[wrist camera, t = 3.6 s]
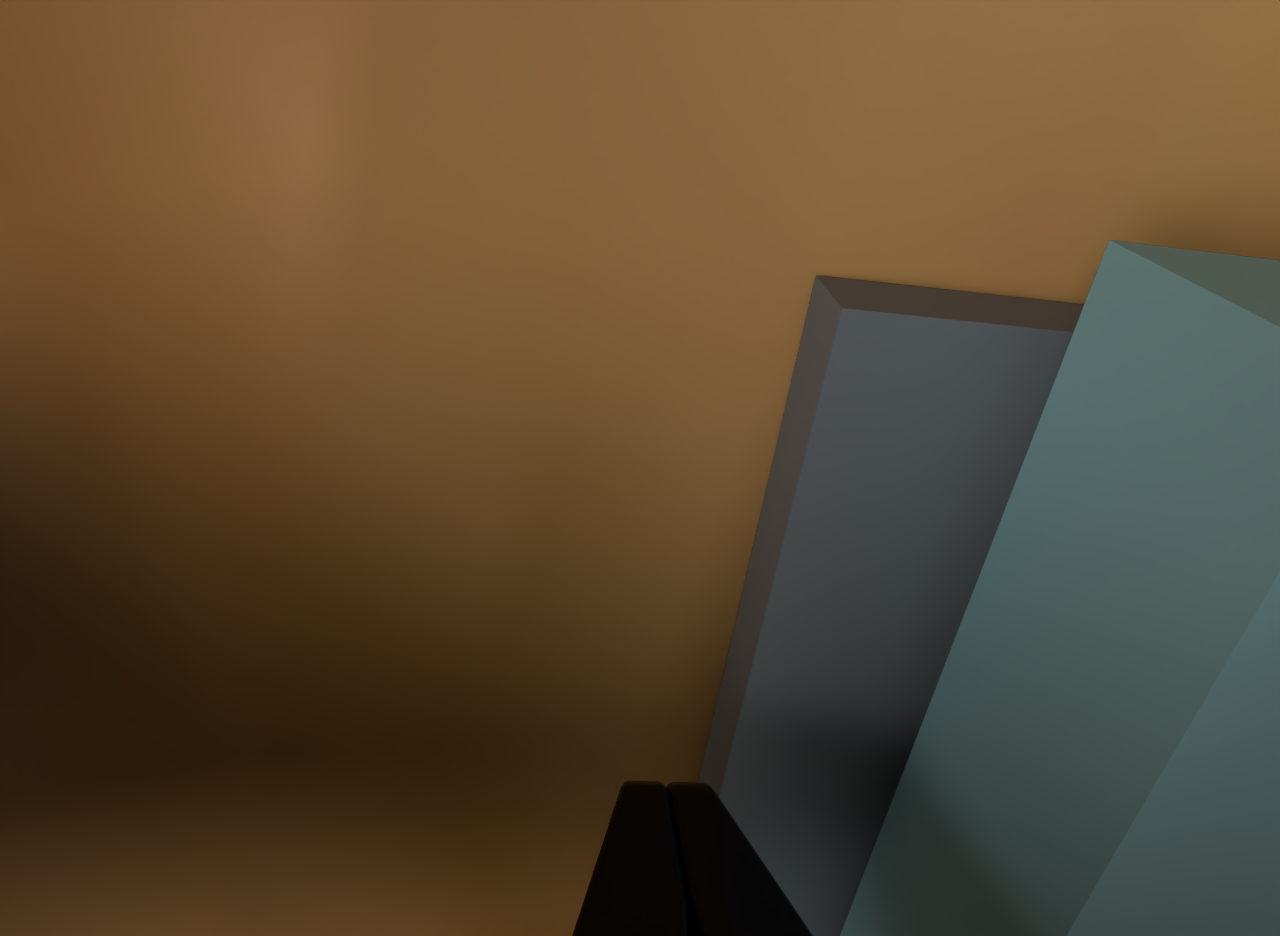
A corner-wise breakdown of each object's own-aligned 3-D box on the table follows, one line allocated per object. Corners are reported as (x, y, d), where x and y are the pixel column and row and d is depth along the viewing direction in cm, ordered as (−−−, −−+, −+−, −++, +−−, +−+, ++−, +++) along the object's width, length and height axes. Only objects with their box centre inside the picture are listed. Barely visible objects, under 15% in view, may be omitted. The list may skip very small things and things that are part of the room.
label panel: (662, 933, 14) (671, 1005, 13) (815, 275, 9) (846, 314, 8) (1168, 938, 16) (1210, 1005, 15) (1564, 356, 10) (1671, 399, 9)
